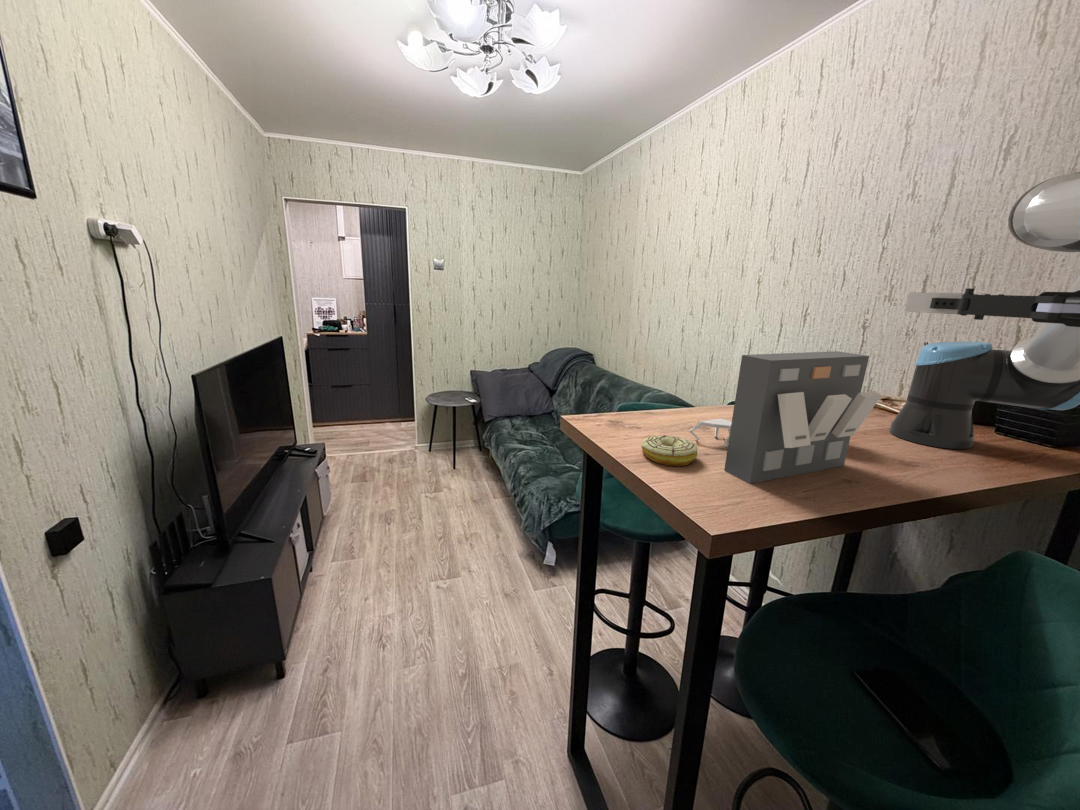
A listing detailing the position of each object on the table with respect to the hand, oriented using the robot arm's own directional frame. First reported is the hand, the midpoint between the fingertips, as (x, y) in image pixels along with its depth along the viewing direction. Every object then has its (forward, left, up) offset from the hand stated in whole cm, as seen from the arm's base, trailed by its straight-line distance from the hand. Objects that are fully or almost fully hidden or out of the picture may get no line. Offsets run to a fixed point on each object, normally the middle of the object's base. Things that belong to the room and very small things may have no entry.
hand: (913, 302), depth 62 cm
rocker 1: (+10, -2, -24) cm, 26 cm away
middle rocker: (+5, -9, -24) cm, 27 cm away
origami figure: (+17, -25, -32) cm, 45 cm away
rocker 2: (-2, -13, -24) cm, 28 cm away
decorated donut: (+29, -13, -32) cm, 46 cm away
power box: (+7, -12, -32) cm, 35 cm away
